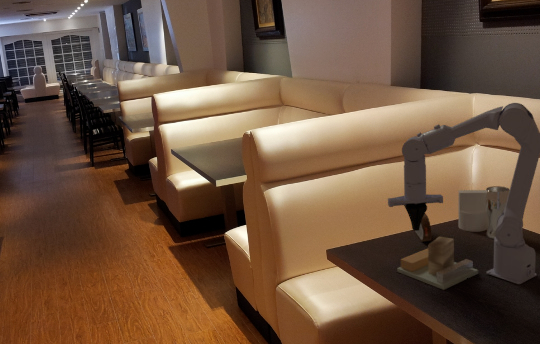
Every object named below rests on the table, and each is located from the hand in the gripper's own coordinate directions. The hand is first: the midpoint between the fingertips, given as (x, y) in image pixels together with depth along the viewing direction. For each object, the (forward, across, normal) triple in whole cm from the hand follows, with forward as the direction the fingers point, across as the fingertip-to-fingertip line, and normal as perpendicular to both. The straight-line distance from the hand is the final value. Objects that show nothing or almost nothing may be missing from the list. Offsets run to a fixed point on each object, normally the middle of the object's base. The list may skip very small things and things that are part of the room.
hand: (415, 229), depth 151 cm
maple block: (+10, -5, +7) cm, 13 cm away
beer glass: (+11, -30, -17) cm, 36 cm away
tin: (+11, -8, -21) cm, 25 cm away
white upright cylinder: (+11, -26, -26) cm, 38 cm away
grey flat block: (+10, -4, +6) cm, 13 cm away
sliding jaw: (+9, -1, +1) cm, 10 cm away
